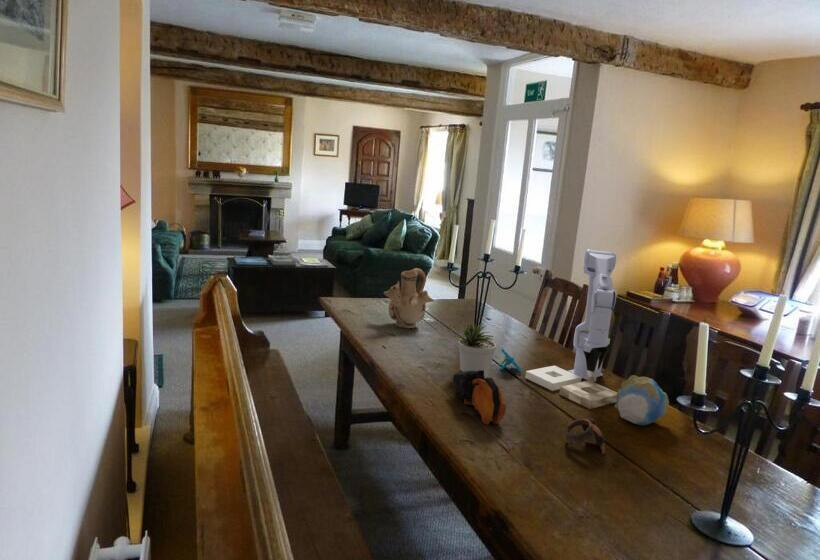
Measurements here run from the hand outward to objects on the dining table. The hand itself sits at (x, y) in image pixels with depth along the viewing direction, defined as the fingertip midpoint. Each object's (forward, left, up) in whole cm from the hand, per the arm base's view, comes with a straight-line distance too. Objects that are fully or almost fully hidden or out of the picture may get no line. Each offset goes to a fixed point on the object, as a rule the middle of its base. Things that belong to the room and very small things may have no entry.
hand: (593, 369), depth 175 cm
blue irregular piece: (+6, -29, -10) cm, 32 cm away
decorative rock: (0, +17, -10) cm, 20 cm away
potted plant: (+23, -30, -10) cm, 39 cm away
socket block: (0, -15, -9) cm, 18 cm away
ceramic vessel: (+13, -88, -10) cm, 90 cm away
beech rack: (0, 0, -9) cm, 9 cm away
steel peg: (0, 0, -3) cm, 4 cm away
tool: (+39, -9, -10) cm, 42 cm away
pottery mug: (+28, +21, -10) cm, 36 cm away
